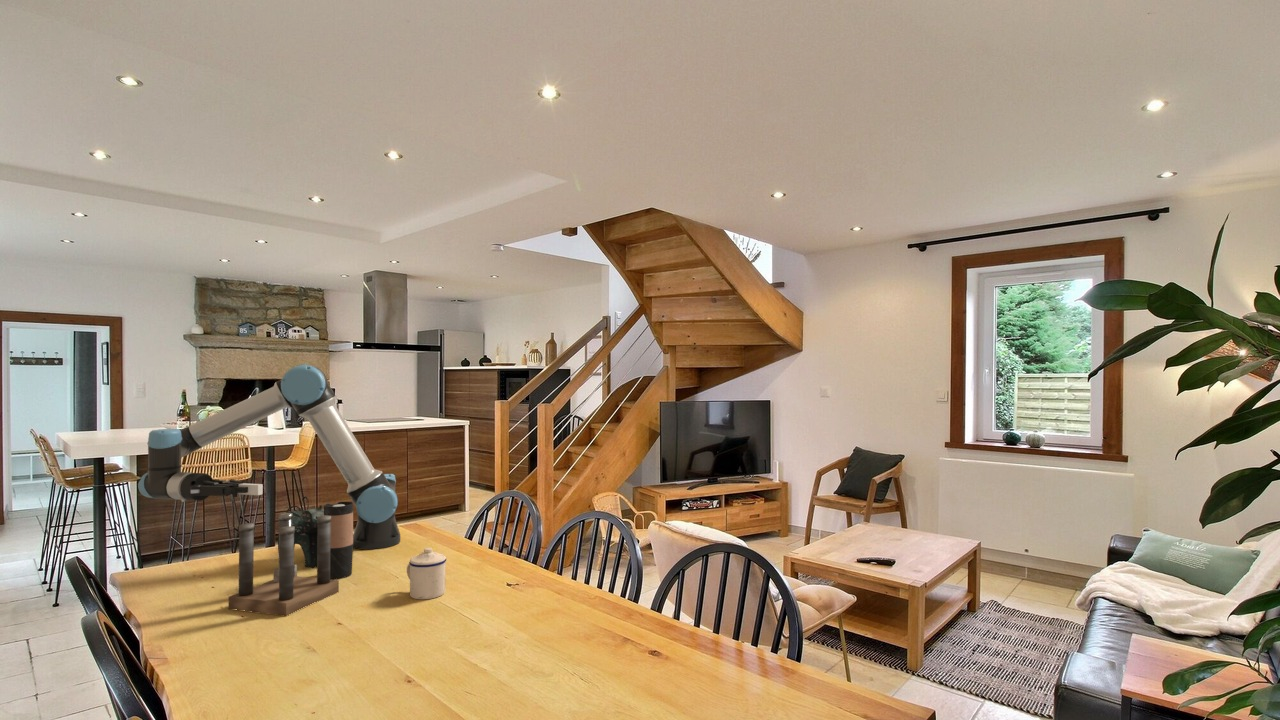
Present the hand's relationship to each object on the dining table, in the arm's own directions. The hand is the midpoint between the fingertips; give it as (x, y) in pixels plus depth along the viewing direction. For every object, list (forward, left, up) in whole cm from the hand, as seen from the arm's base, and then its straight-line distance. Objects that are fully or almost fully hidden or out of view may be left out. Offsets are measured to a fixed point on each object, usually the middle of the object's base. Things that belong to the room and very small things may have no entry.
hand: (260, 489), depth 169 cm
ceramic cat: (-10, -18, -26) cm, 33 cm away
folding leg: (-6, +7, -21) cm, 23 cm away
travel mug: (-19, +1, -26) cm, 32 cm away
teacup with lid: (-37, +28, -26) cm, 53 cm away
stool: (-6, +16, -26) cm, 31 cm away
